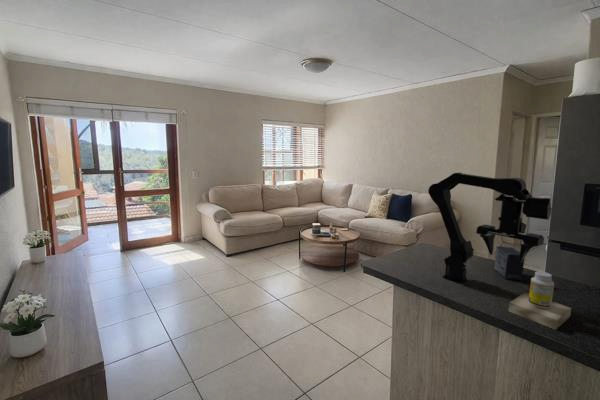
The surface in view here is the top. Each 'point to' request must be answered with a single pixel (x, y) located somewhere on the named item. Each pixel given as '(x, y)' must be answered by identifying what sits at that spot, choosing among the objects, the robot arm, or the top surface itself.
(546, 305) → the supplement bottle
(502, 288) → the top surface
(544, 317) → the birch base block
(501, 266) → the small box
